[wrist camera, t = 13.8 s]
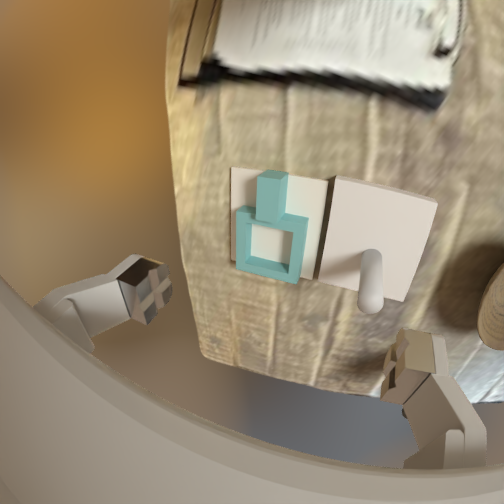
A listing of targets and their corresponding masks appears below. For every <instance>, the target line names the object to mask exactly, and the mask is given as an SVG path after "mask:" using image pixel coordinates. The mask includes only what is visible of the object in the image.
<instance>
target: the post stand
mask: <svg viewBox="0 0 504 504" xmlns="http://www.w3.org/2000/svg"><path fill="white" fill-rule="evenodd" d="M437 205H438V203H437V202H436V200H435V199H434V198H430V197H427V196H423V195H420V194H416V193H412V192H409V191H405V190H401V189H397V188H393V187H389V186H385V185H381V184H377V183H372V182H368V181H363V180H359V179H354V178H349V177H344V176H339V175H337V176H336V179H335V186H334V192H333V199H332V205H331V212H330V218H329V224H328V230H327V235H326V241H325V246H324V251H323V257H322V262H321V267H320V272H319V277H318V282H322V283H326V284H331V285H335V286H339V287H343V288H347V289H351V290H356V291H358V300H357V306H358V308H359V309H360V310H361V311H362V312H364V313H367V314H373V313H376V312H378V311H380V310H381V308H382V307H383V297H385V298H390V299H394V300H398V301H404V298H405V296H406V294H407V291H408V289H409V287H410V284H411V282H412V279H413V277H414V274H415V272H416V269H417V266H418V264H419V261H420V258H421V256H422V253H423V250H424V247H425V244H426V241H427V238H428V235H429V232H430V229H431V226H432V222H433V219H434V216H435V212H436V208H437Z"/></svg>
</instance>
